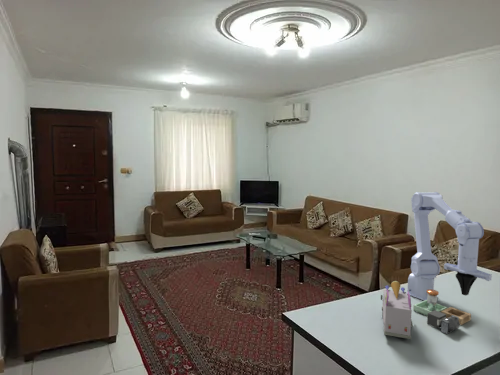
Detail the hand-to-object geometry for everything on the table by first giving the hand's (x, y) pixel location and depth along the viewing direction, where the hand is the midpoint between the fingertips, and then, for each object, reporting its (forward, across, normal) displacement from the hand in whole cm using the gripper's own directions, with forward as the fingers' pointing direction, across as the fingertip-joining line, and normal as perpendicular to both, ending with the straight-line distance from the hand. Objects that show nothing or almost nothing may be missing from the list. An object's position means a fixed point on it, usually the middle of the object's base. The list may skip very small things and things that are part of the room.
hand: (465, 294), depth 119 cm
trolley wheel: (+10, 0, -10) cm, 14 cm away
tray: (+10, -11, -2) cm, 15 cm away
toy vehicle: (+11, -11, -24) cm, 28 cm away
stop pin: (+10, -10, -2) cm, 15 cm away
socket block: (+10, -3, +1) cm, 11 cm away
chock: (+10, -4, -9) cm, 15 cm away
